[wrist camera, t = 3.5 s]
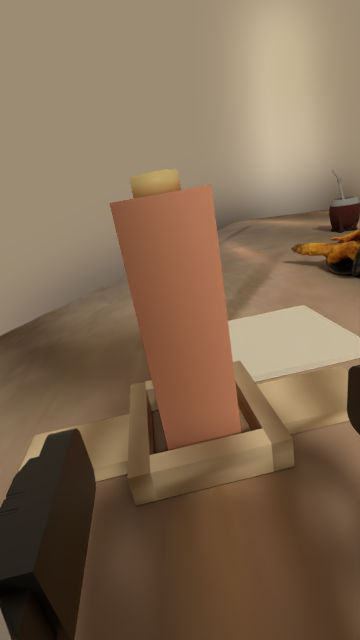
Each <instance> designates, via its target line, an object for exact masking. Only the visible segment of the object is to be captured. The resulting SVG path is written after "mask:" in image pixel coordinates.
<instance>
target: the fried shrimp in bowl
mask: <svg viewBox="0 0 360 640" xmlns="http://www.w3.org/2000/svg"><path fill="white" fill-rule="evenodd" d="M330 240H340V241H339V242H337V243H308V244H297V245H294V246H293V247H292V248H291V249H292V250H293V252H295V253H298V254H302V255H309V256H316V255H323V256H325V257H326V264H327V267H328V269H329V270H330V271H331V272H333V273H336V274H352V275H353V276H359V275H360V230H357V231H354V232H352V233H350V234H347V235H345V236H343V237H335V238H332V239H330Z"/></svg>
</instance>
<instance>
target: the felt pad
mask: <svg viewBox="0 0 360 640" xmlns="http://www.w3.org/2000/svg"><path fill="white" fill-rule="evenodd" d="M228 326H229V334H230V343H231V351H232V359H233V362H235V361H239V360H240V361H241V363H242V364H243V366H244V367H245V368H246V370H247V371H248V373H249V374H250V376H251V377H252V379H253V380H254V382H257V381H261V380H266V379H270V378H275V377H279V376H283V375H288V374H292V373H297V372H301V371H305V370H310V369H314V368H319V367H323V366H327V365H332V364H336V363H341V362H345V361H349V360H354V359H358V358H360V337H358V336H356V335H355V334H353V333H351V332H349V331H348V330H346V329H344V328H343V327H341V326H339V325H337V324H336V323H334V322H332V321H330V320H329V319H327V318H325V317H324V316H322V315H320V314H318V313H317V312H315V311H313V310H311V309H310V308H308V307H306V306H304V305H302V306H297V307H292V308H287V309H283V310H278V311H273V312H269V313H264V314H259V315H254V316H250V317H245V318H240V319H236V320H231V321H228Z"/></svg>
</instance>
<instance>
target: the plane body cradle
mask: <svg viewBox="0 0 360 640" xmlns="http://www.w3.org/2000/svg"><path fill="white" fill-rule="evenodd" d="M233 367H234V375H235V384H236V392H237V400H238V404H239V406H240V408H241V410H242V412H243V414H244V416H245V418H246V419H247V421H248V423H249V425H250V427H251V429H252V431H249V432H245V433H241V434H237V435H233V436H228V437H224V438H220V439H216V440H212V441H207V442H203V443H199V444H195V445H190V446H186V447H182V448H178V449H174V450H169V451H165V452H161V453H157V454H154V441H153V428H152V414H151V411H155V410H159V409H158V404H157V400H156V396H155V392H154V388H153V383H152V380H149V381H145V382H140V383H136V384H131V385H130V410H129V414H126V415H122V416H117V417H113V418H109V419H104V420H100V421H95V422H91V423H87V424H82V425H78V426H74V427H69V428H65V429H60V430H56V431H52V432H47V433H43V434H38V435H35V436H34V439H33V441H32V443H31V445H30V448H29V450H28V452H27V454H26V457H25V459H24V461H23V463H22V465H21V468H22V467H23V466H24V465H25V464H26V463H27V461H28V460H29V459H30V458H34V457H39V455H40V452H41V450H42V447H43V444H44V442H45V439H46V437H47V436H48V435H49V434H53V433H57V432H61V431H66V430H70V429H75V428H77V429H78V430H79V431H80V433H81V436H82V439H83V441H84V444H85V447H86V450H87V452H88V455H89V458H90V461H91V463H92V466H93V469H94V474H95V481H100V480H105V479H109V478H113V477H117V476H121V475H125V474H127V479H128V482H129V486H130V489H131V492H132V495H133V498H134V501H135V505H136V506H137V505H141V504H145V503H149V502H153V501H157V500H161V499H165V498H169V497H173V496H177V495H181V494H185V493H190V492H194V491H198V490H202V489H206V488H210V487H214V486H218V485H222V484H226V483H230V482H234V481H238V480H242V479H246V478H250V477H254V476H258V475H262V474H266V473H270V472H274V471H278V470H282V469H286V468H290V467H294V445H293V437H292V436H291V434H296V433H300V432H304V431H308V430H312V429H316V428H320V427H325V426H329V425H333V424H337V423H341V422H345V421H350V420H349V418H348V414H347V391H348V371H346V370H345V369H344V368H342V367H341V366H337V367H332V368H328V369H324V370H319V371H315V372H311V373H306V374H302V375H297V376H293V377H289V378H284V379H280V380H275V381H271V382H267V383H262V384H258V385H256V383H255V382H254V380H253V379H252V377H251V376H250V374H249V373H248V371H247V370H246V368H245V367H244V366H243V364H242V363H241V361H240V360H239V361H235V362H233ZM21 468H20V470H21ZM20 470H19V471H20Z"/></svg>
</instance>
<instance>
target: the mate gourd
mask: <svg viewBox="0 0 360 640" xmlns="http://www.w3.org/2000/svg"><path fill="white" fill-rule="evenodd" d="M332 172H333V173H334V175H335V176H336V177H337V181H338V183H339V187H340V193H341V197H342V198H339V199H335V200H333V202H332V203H331V205H330V209H329V216H330V221H331V225H332V229H331V231H338V233H342V232H344V231H349V230H357V228H356V226H357V223H358V220H359V215H360V201H359V200H358V198H357V197H346V198H344V195H343V191H342V186H341V179H340V178H339V176H338V174H337V173H336V172H335V171H332Z"/></svg>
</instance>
